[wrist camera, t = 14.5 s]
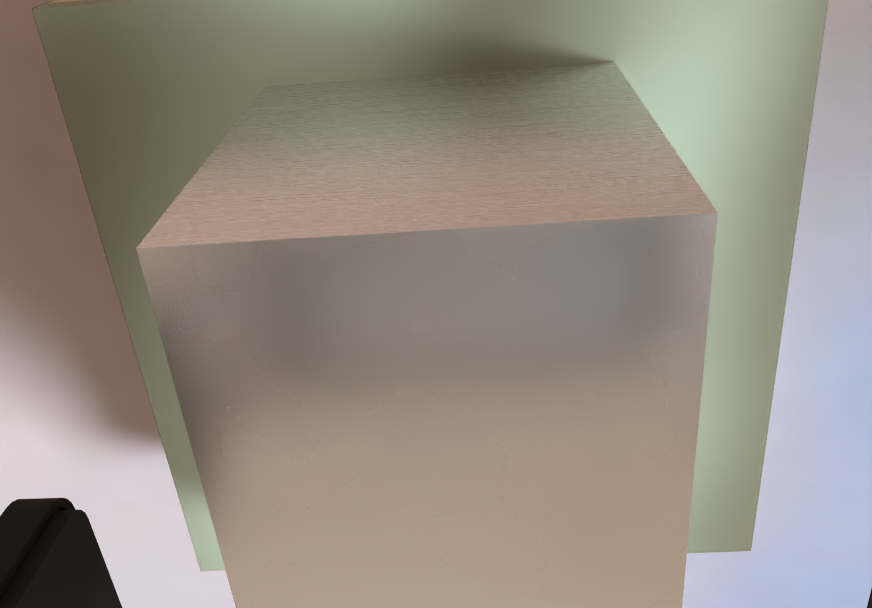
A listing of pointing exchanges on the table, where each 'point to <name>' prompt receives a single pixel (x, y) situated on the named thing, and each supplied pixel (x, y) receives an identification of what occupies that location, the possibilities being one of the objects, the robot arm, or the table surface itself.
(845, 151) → the table surface
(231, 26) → the stand
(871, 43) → the table surface
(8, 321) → the table surface
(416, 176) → the block
